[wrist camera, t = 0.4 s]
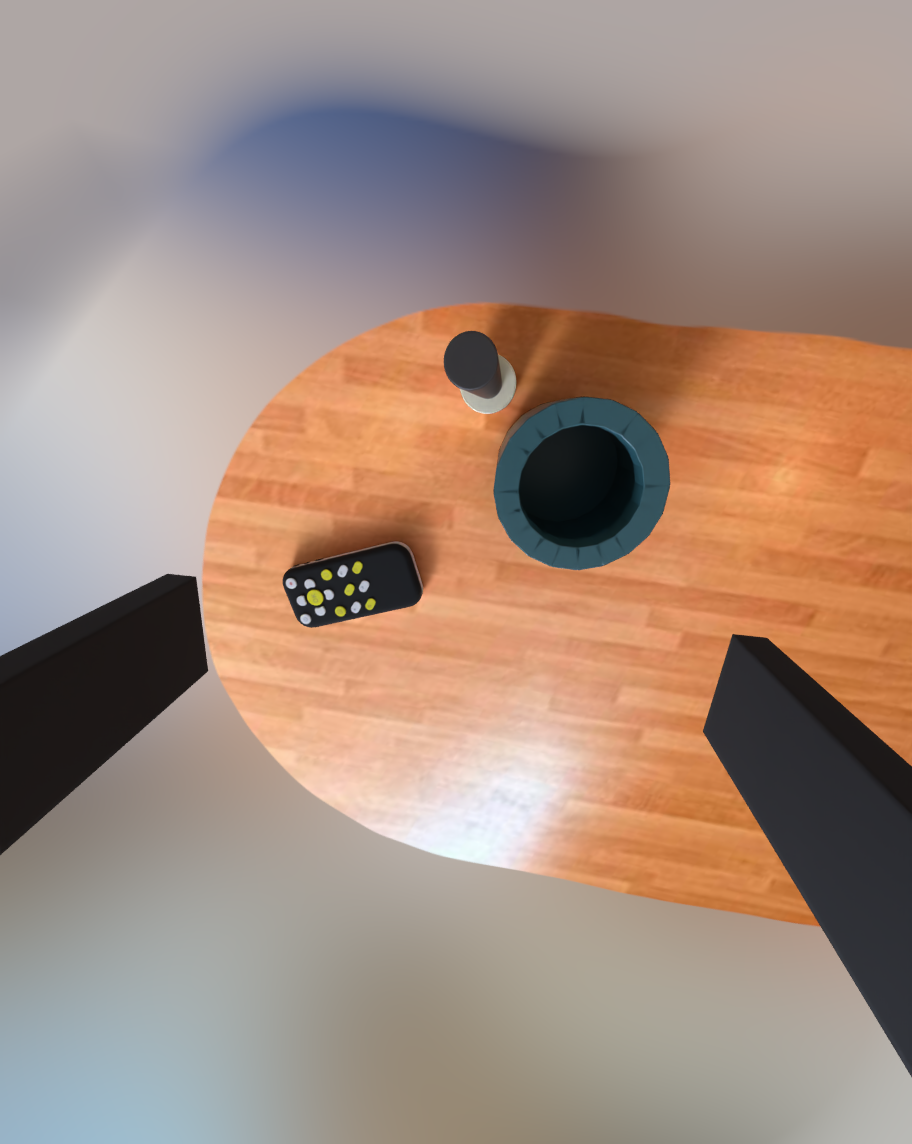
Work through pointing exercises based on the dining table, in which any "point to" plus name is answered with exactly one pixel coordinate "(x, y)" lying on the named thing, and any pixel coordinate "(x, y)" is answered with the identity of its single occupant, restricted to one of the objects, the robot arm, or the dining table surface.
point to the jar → (580, 482)
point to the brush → (479, 372)
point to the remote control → (353, 584)
